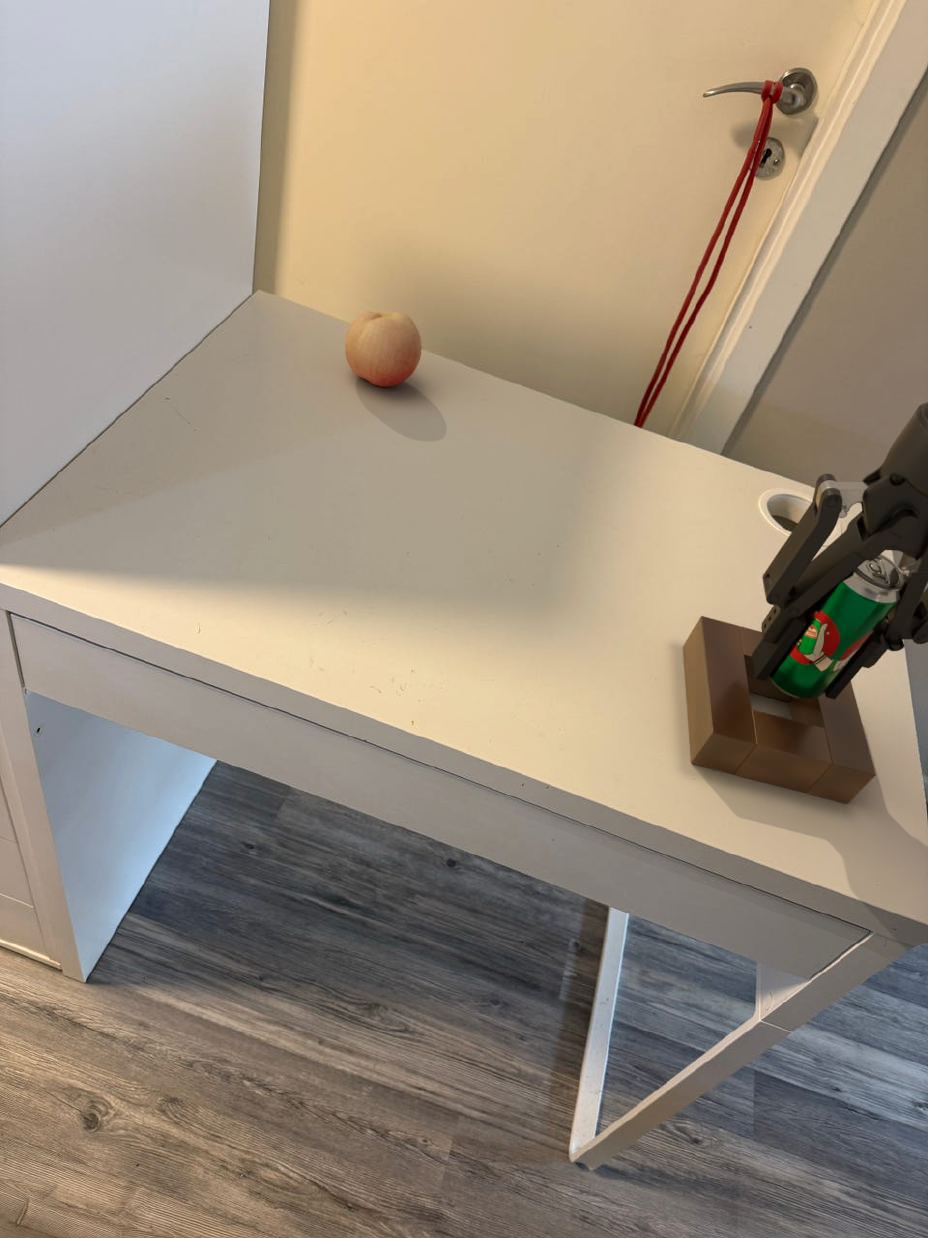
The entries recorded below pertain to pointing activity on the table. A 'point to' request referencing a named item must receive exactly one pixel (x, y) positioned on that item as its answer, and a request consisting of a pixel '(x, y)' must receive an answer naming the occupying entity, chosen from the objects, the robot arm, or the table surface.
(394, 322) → the fruit
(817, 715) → the holder
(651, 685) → the table surface
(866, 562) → the soda can
